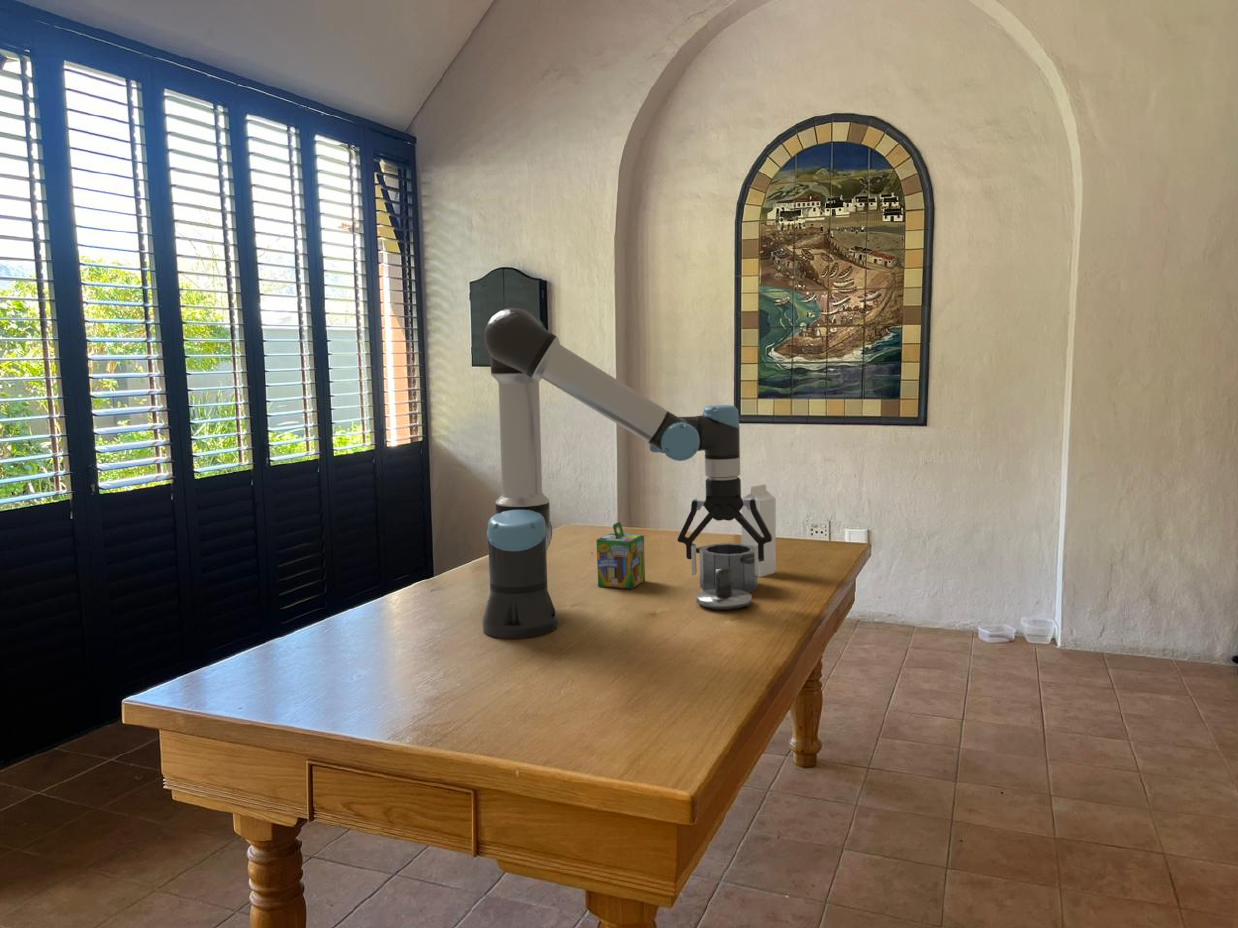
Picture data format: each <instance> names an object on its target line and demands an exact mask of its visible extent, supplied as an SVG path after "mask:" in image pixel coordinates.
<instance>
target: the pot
mask: <svg viewBox="0 0 1238 928" xmlns="http://www.w3.org/2000/svg"><path fill="white" fill-rule="evenodd" d="M696 554H699V587H700V588H701V590H702V591H705V590H710V589H716V583H715V568H717V567H730V568H732V589H737V590H742V591H746V592H748V593H750V592H751V593H752V592H754V591H755V590H757V588H758V576H757V575H755V550H754V547H753V546H750V545H745V544H742V543H732V542H731V543H729V542H728V543H727V542H726V543H712V544H708V545H702V546H698V547H696ZM761 561H764V558H763V559H759V562H761Z"/></svg>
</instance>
